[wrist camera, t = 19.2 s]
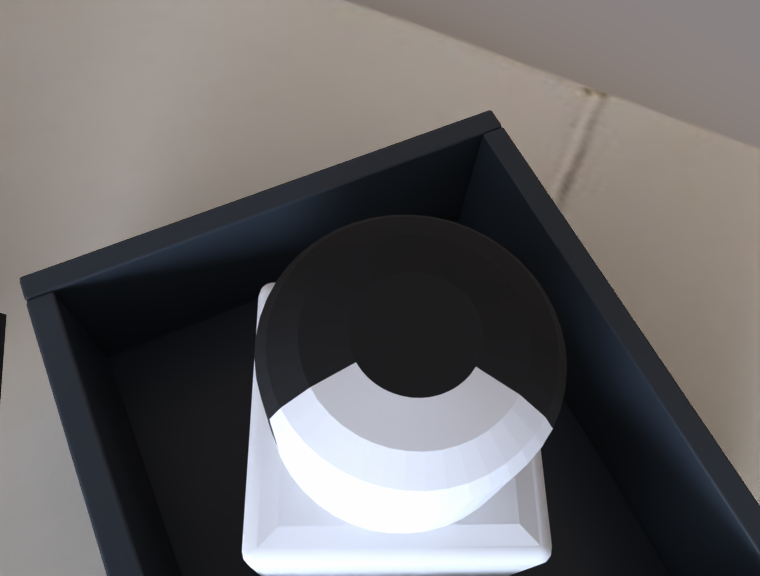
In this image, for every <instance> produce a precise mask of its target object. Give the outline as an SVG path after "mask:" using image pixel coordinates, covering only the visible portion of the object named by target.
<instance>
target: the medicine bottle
mask: <svg viewBox="0 0 760 576" xmlns="http://www.w3.org/2000/svg"><path fill="white" fill-rule="evenodd" d="M566 376H567V359H566V347H565V342H564V338H563V333H562V328H561V326H560V323H559V320H558V317H557V315H556V312H555V309H554V307H553V306H552V304H551V302H550V300H549V298H548V296H547V294H546V292H545V291H544V289H543V288H542V287H541V285H540V284H539V282H538V281H537V279H536V278H535V277H534V275H533V274H532V273H531V272H530V271H529V270H528V269H527V268H526V267H525V266H524V264H523V263H522V262H521V261H520V260H519V259H517V258H516V257H515V256H514V255H513V254H512V253H510V252H509V251H508V250H507V249H506V248H504V247H503V246H501V245H500V244H498V243H497V242H495V241H494V240H492V239H491V238H489V237H488V236H486V235H483V234H481V233H479V232H477V231H475V230H473V229H471V228H469V227H466V226H463V225H461V224H458V223H455V222H452V221H448V220H444V219H440V218H435V217H430V216H420V215H388V216H380V217H373V218H369V219H365V220H361V221H358V222H354V223H351V224H349V225H346V226H344V227H341V228H339V229H336V230H334V231H333V232H331V233H329V234H327V235H325V236H324V237H322V238H320V239H318V240H317V241H316V242H314V243H313V244H312V245H310V246H309V247H308V248H306V249H305V250H304V251H302V252H301V253H300V254H299V255H298V256H297V257H296V258H295V259H294V260H293V261H292V262H291V263H290V264H289V265H288V267H287V268H286V269H285V271H284V272H283V273H282V274H281V276H280V277H279V278H278V280H277V281H276V283H269V284H266V285H265V286H264V287H262V289H261V291H260V294H259V297H258V312H257V327H256V339H255V354H254V373H253V388H252V404H251V419H250V434H249V449H248V465H247V480H246V495H245V511H244V526H243V541H242V554H243V559H244V561H245V562H246V563H247V564H248V565H249V566H250V567H251V568H252V569H253V570H255V571H256V572H257V573H258V574H259V575H261V576H510V575H512V574H515V573H518V572H521V571H523V570H526V569H529V568H532V567H534V566H537V565H540V564H542V563H545V562H546V561H547V560H548V559H549V557H550V556H551V550H552V543H551V534H550V526H549V517H548V508H547V500H546V491H545V483H544V474H543V465H542V457H541V447H542V446H543V444H544V443H545V441H546V439H547V438H548V436H549V434H550V433H551V431H552V429H553V427H554V424H555V422H556V420H557V417H558V415H559V412H560V410H561V406H562V402H563V397H564V393H565V388H566Z"/></svg>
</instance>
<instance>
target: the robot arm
mask: <svg viewBox="0 0 760 576" xmlns="http://www.w3.org/2000/svg"><path fill="white" fill-rule="evenodd" d="M5 328H6V314H2V313H0V398H1V384H2V370H3V356H4V342H5Z"/></svg>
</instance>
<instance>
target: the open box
mask: <svg viewBox="0 0 760 576" xmlns="http://www.w3.org/2000/svg"><path fill="white" fill-rule="evenodd" d="M388 215H420V216H430V217H435V218H440V219H444V220H448V221H452V222H455V223H458V224H461V225H463V226H466V227H469V228H471V229H473V230H475V231H477V232H479V233H481V234H483V235H486V236H488V237H489V238H491V239H492V240H494V241H495V242H497V243H498V244H500V245H501V246H503V247H504V248H506V249H507V250H508V251H509V252H510V253H512V254H513V255H514V256H515V257H516V258H517V259H519V260H520V261H521V262H522V263H523V264H524V266H525V267H526V268H527V269H528V270H529V271H530V272H531V273H532V274H533V275H534V277H535V278H536V279H537V281H538V282H539V284H540V285H541V287H542V288H543V289H544V291H545V292H546V294H547V296H548V298H549V300H550V302H551V304H552V306H553V307H554V309H555V312H556V315H557V317H558V320H559V323H560V326H561V328H562V333H563V338H564V342H565V347H566V359H567V376H566V388H565V393H564V397H563V402H562V406H561V410H560V412H559V415H558V417H557V420H556V422H555V424H554V427H553V429H552V431H551V433H550V434H549V436H548V438H547V439H546V441H545V443H544V444H543V446H542V447H541V457H542V465H543V474H544V483H545V491H546V500H547V508H548V517H549V526H550V534H551V543H552V550H551V556H550V557H549V559H548V560H547V561H546V562H545V563H542V564H540V565H537V566H534V567H532V568H529V569H526V570H523V571H521V572H518V573H515V574H512V575H510V576H760V505H759V504H758V503H757V501H756V500H755V498H754V497H753V495H752V494H751V492H750V491H749V489H748V488H747V486H746V485H745V483H744V482H743V480H742V479H741V477H740V476H739V474H738V473H737V472H736V470H735V469H734V467H733V466H732V464H731V463H730V461H729V460H728V458H727V457H726V455H725V454H724V452H723V451H722V449H721V448H720V446H719V445H718V444H717V442H716V441H715V439H714V438H713V436H712V435H711V433H710V432H709V430H708V429H707V427H706V426H705V424H704V423H703V421H702V420H701V418H700V417H699V416H698V414H697V413H696V411H695V410H694V408H693V407H692V405H691V404H690V402H689V401H688V399H687V398H686V396H685V395H684V393H683V392H682V390H681V389H680V387H679V386H678V385H677V383H676V382H675V380H674V379H673V377H672V376H671V374H670V373H669V371H668V370H667V368H666V367H665V365H664V364H663V362H662V361H661V359H660V358H659V357H658V355H657V354H656V352H655V351H654V349H653V348H652V346H651V345H650V343H649V342H648V340H647V339H646V337H645V336H644V334H643V333H642V331H641V330H640V328H639V327H638V326H637V324H636V323H635V321H634V320H633V318H632V317H631V315H630V314H629V312H628V311H627V309H626V308H625V306H624V305H623V303H622V302H621V300H620V299H619V298H618V296H617V295H616V293H615V292H614V290H613V289H612V287H611V286H610V284H609V283H608V281H607V280H606V278H605V277H604V275H603V274H602V272H601V271H600V269H599V268H598V267H597V265H596V264H595V262H594V261H593V259H592V258H591V256H590V255H589V253H588V252H587V250H586V249H585V247H584V246H583V244H582V243H581V241H580V240H579V239H578V237H577V236H576V234H575V233H574V231H573V230H572V228H571V227H570V225H569V224H568V222H567V221H566V219H565V218H564V216H563V215H562V213H561V212H560V210H559V209H558V208H557V206H556V205H555V203H554V202H553V200H552V199H551V197H550V196H549V194H548V193H547V191H546V190H545V188H544V187H543V185H542V184H541V182H540V181H539V180H538V178H537V177H536V175H535V174H534V172H533V171H532V169H531V168H530V166H529V165H528V163H527V162H526V160H525V159H524V157H523V156H522V154H521V153H520V152H519V150H518V149H517V147H516V146H515V144H514V143H513V141H512V140H511V138H510V137H509V135H508V134H507V132H506V131H505V129H504V128H501V124H500V122H499V121H498V119H497V118H496V116H495V115H494V114H493V112H492V111H491V110H489V111H486V112H483V113H480V114H478V115H475V116H472V117H469V118H466V119H464V120H461V121H458V122H455V123H452V124H450V125H447V126H444V127H441V128H438V129H436V130H433V131H430V132H427V133H424V134H422V135H419V136H416V137H413V138H410V139H407V140H405V141H402V142H399V143H396V144H393V145H391V146H388V147H385V148H382V149H379V150H377V151H374V152H371V153H368V154H365V155H363V156H360V157H357V158H354V159H351V160H349V161H346V162H343V163H340V164H337V165H335V166H332V167H329V168H326V169H323V170H321V171H318V172H315V173H312V174H309V175H307V176H304V177H301V178H298V179H295V180H293V181H290V182H287V183H284V184H281V185H278V186H276V187H273V188H270V189H267V190H264V191H262V192H259V193H256V194H253V195H250V196H248V197H245V198H242V199H239V200H236V201H234V202H231V203H228V204H225V205H222V206H220V207H217V208H214V209H211V210H208V211H206V212H203V213H200V214H197V215H194V216H192V217H189V218H186V219H183V220H180V221H178V222H175V223H172V224H169V225H166V226H163V227H161V228H158V229H155V230H152V231H149V232H147V233H144V234H141V235H138V236H135V237H133V238H130V239H127V240H124V241H121V242H119V243H116V244H113V245H110V246H107V247H105V248H102V249H99V250H96V251H93V252H91V253H88V254H85V255H82V256H79V257H77V258H74V259H71V260H68V261H65V262H63V263H60V264H57V265H54V266H51V267H49V268H46V269H43V270H40V271H37V272H34V273H32V274H29V275H26V276H23V277H21V278H20V284H21V288H22V291H23V294H24V298H25V300H26V301H27V308H28V311H29V315H30V318H31V321H32V325H33V328H34V331H35V335H36V338H37V341H38V345H39V348H40V352H41V355H42V358H43V362H44V365H45V368H46V372H47V375H48V379H49V382H50V385H51V389H52V392H53V395H54V399H55V402H56V405H57V409H58V412H59V416H60V419H61V422H62V426H63V429H64V432H65V436H66V439H67V442H68V446H69V449H70V453H71V456H72V459H73V463H74V466H75V469H76V473H77V476H78V479H79V483H80V486H81V490H82V493H83V496H84V500H85V503H86V506H87V510H88V513H89V517H90V520H91V523H92V527H93V530H94V533H95V537H96V540H97V543H98V547H99V550H100V554H101V557H102V560H103V564H104V567H105V570H106V574H107V576H261V575H259V574H258V573H257V572H256V571H255V570H253V569H252V568H251V567H250V566H249V565H248V564H247V563H246V562H245V561H244V559H243V554H242V541H243V526H244V511H245V495H246V480H247V465H248V449H249V434H250V419H251V404H252V388H253V373H254V354H255V339H256V327H257V312H258V297H259V294H260V291H261V289H262V287H264V286H265V285H266V284H269V283H276V281H277V280H278V278H279V277H280V276H281V274H282V273H283V272H284V271H285V269H286V268H287V267H288V265H289V264H290V263H291V262H292V261H293V260H294V259H295V258H296V257H297V256H298V255H299V254H300V253H301V252H302V251H304V250H305V249H306V248H308V247H309V246H310V245H312V244H313V243H314V242H316V241H317V240H318V239H320V238H322V237H324V236H325V235H327V234H329V233H331V232H333V231H334V230H336V229H339V228H341V227H344V226H346V225H349V224H351V223H354V222H358V221H361V220H365V219H369V218H373V217H380V216H388Z"/></svg>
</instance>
